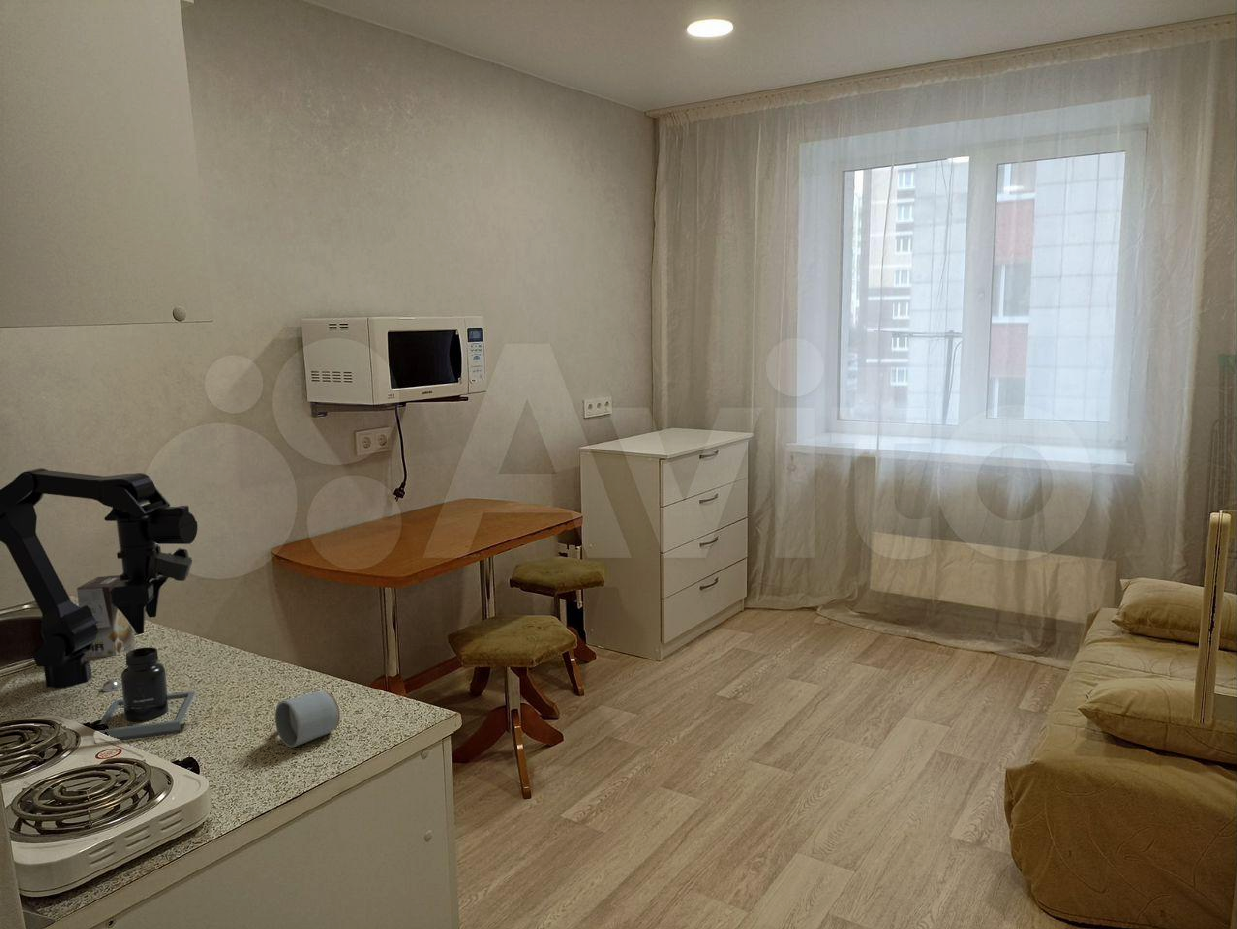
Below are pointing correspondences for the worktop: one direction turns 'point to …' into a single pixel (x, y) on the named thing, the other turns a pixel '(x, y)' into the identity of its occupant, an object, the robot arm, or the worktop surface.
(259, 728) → the worktop surface
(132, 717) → the supplement bottle
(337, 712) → the ceramic mug
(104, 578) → the coffee box
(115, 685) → the mixing ball
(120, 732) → the tray
